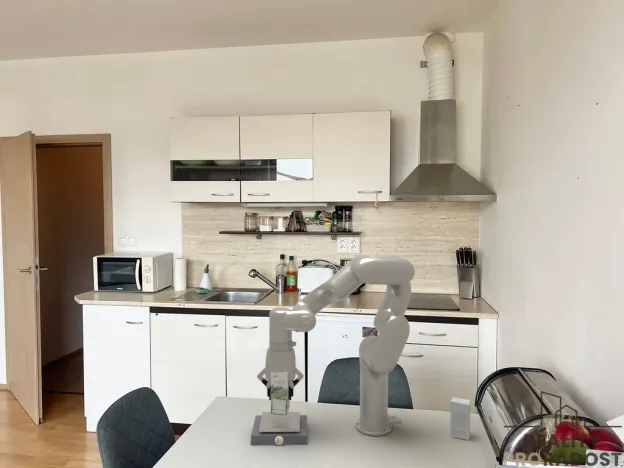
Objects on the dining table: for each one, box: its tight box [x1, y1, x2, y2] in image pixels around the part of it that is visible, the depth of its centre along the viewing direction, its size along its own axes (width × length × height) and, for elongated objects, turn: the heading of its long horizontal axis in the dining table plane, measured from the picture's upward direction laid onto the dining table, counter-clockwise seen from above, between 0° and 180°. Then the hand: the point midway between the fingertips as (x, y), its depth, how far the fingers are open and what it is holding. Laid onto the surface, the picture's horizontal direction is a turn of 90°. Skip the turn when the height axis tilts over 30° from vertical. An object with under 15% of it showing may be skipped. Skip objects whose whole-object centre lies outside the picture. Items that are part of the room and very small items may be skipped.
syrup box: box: [270, 372, 291, 415], centre depth 145 cm, size 6×6×14 cm
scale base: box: [250, 414, 308, 446], centre depth 145 cm, size 18×15×3 cm
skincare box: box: [449, 396, 471, 441], centre depth 145 cm, size 6×4×12 cm
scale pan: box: [259, 411, 301, 432], centre depth 146 cm, size 13×12×1 cm
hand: (280, 398), depth 145 cm, fingers closed on syrup box, 6 cm apart
